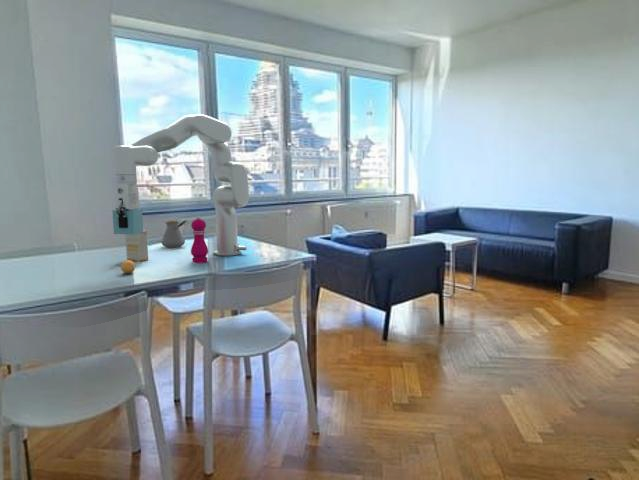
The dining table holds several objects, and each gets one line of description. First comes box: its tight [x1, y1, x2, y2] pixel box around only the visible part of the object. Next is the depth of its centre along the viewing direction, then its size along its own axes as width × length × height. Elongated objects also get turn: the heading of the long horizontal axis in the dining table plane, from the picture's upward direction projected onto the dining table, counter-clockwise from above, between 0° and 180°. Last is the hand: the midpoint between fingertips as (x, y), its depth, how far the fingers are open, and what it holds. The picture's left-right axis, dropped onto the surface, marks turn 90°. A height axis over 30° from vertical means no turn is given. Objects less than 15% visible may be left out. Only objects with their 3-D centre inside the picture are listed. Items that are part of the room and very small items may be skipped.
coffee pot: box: [161, 220, 188, 249], centre depth 229 cm, size 21×12×15 cm, turn 42°
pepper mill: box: [190, 215, 209, 264], centre depth 197 cm, size 7×7×20 cm
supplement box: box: [124, 229, 149, 262], centre depth 201 cm, size 8×5×13 cm, turn 65°
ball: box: [120, 259, 136, 274], centre depth 177 cm, size 5×5×5 cm
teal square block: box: [111, 208, 144, 235], centre depth 174 cm, size 8×8×9 cm
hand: (128, 226), depth 175 cm, fingers closed on teal square block, 7 cm apart
